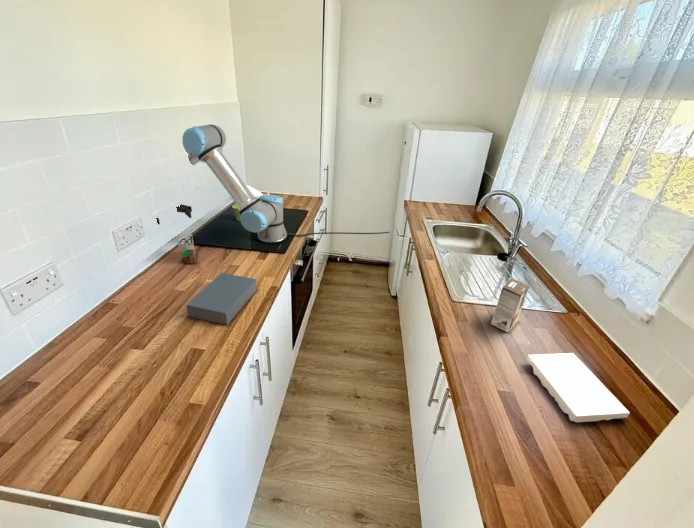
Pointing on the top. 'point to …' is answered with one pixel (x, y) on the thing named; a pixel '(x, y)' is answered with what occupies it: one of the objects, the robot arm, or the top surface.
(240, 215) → the plant pot
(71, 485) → the top surface
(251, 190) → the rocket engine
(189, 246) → the food container
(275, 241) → the robot arm
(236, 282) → the grey rectangular block
